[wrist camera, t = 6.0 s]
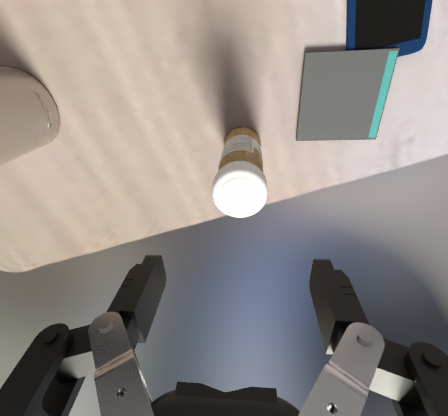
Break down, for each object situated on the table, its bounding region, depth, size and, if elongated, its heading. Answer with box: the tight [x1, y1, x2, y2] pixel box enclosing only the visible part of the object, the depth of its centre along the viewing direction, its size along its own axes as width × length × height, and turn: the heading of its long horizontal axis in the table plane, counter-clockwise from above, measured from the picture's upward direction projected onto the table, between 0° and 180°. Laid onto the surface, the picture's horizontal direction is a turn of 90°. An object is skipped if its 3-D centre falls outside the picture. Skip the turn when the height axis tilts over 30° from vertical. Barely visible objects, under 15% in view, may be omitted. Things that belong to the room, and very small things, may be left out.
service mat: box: [296, 48, 400, 141], centre depth 28 cm, size 9×9×1 cm
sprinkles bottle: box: [212, 127, 268, 218], centre depth 26 cm, size 5×5×13 cm
